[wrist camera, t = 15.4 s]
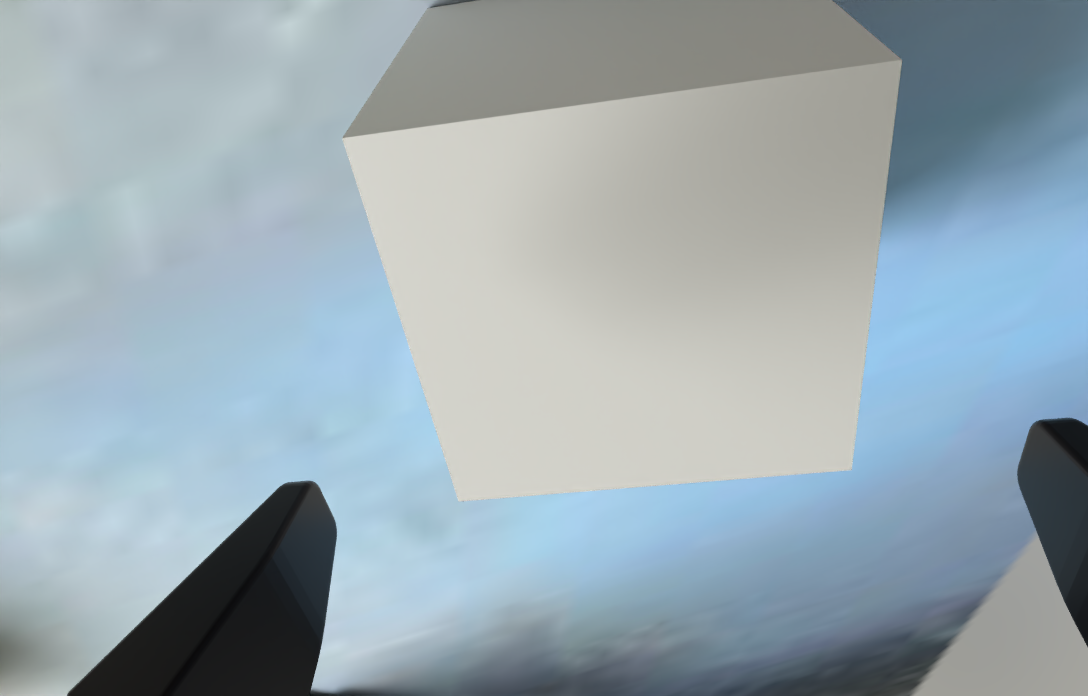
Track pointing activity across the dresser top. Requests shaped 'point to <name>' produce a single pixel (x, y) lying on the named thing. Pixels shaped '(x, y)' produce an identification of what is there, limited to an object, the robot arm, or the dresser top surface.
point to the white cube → (632, 235)
